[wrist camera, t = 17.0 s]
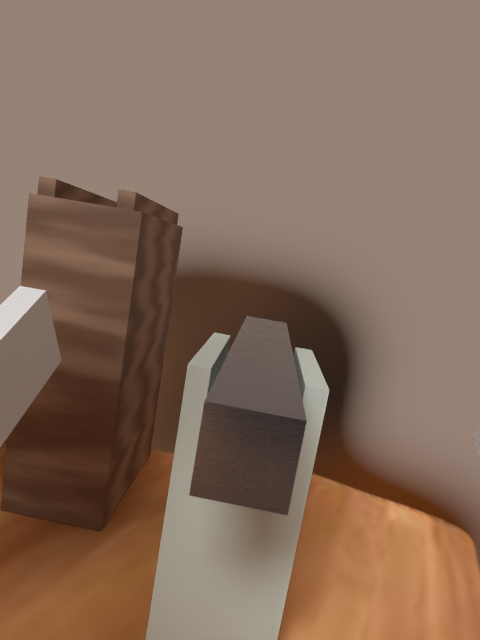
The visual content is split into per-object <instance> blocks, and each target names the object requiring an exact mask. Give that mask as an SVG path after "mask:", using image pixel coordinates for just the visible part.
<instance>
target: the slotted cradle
mask: <svg viewBox="0 0 480 640" xmlns="http://www.w3.org/2000/svg"><path fill="white" fill-rule="evenodd" d="M229 341H230V335H224V334H219V333H214V334H213V335H212V336H211V338H210V339H209V340H208V341H207V342H206V344H205V345H204V346H203V347H202V348H201V349H200V350H199V352H198V353H197V354H196V355H195V356H194V358H193V359H192V360H191V361H190V362H189V364H188V368H187V374H186V381H185V387H184V393H183V400H182V407H181V414H180V420H179V426H178V433H177V440H176V445H175V452H174V458H173V465H172V471H171V478H170V484H169V491H168V497H167V504H166V510H165V517H164V523H163V530H162V536H161V543H160V549H159V556H158V562H157V569H156V575H155V582H154V588H153V595H152V601H151V608H150V614H149V621H148V627H147V634H146V640H277V639H278V634H279V629H280V625H281V620H282V615H283V610H284V605H285V601H286V596H287V591H288V586H289V581H290V577H291V572H292V567H293V562H294V557H295V553H296V548H297V543H298V538H299V533H300V529H301V524H302V519H303V514H304V509H305V505H306V500H307V495H308V490H309V485H310V481H311V476H312V471H313V466H314V461H315V457H316V452H317V447H318V442H319V437H320V432H321V428H322V423H323V418H324V413H325V409H326V404H327V399H328V394H329V389H328V386H327V384H326V382H325V379H324V377H323V375H322V372H321V370H320V368H319V366H318V363H317V361H316V359H315V357H314V354H313V352H312V350H308V349H302V348H295V353H294V362H295V367H296V372H297V376H298V381H299V386H300V391H301V396H302V400H303V405H304V410H305V415H306V420H307V422H306V427H305V432H304V437H303V442H302V447H301V452H300V457H299V462H298V467H297V472H296V477H295V482H294V487H293V491H292V496H291V501H290V506H289V511H288V516H287V515H282V514H277V513H272V512H267V511H263V510H258V509H253V508H248V507H243V506H238V505H233V504H228V503H223V502H218V501H213V500H209V499H204V498H199V497H194V496H189V493H190V487H191V481H192V475H193V468H194V462H195V456H196V450H197V444H198V438H199V431H200V425H201V419H202V413H203V407H204V401H205V399H206V397H207V395H208V393H209V391H210V389H211V387H212V385H213V383H214V381H215V379H216V377H217V375H218V373H219V371H220V369H221V367H222V365H223V363H224V361H225V359H226V357H227V353H228V348H229Z"/></svg>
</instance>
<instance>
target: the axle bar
mask: <svg viewBox="0 0 480 640" xmlns="http://www.w3.org/2000/svg"><path fill="white" fill-rule="evenodd" d="M306 422H307V420H306V415H305V410H304V405H303V400H302V396H301V391H300V386H299V381H298V376H297V372H296V367H295V362H294V357H293V352H292V348H291V343H290V338H289V333H288V328H287V324H286V323H283V322H278V321H272V320H266V319H261V318H255V317H250V316H247V317H246V319H245V321H244V323H243V325H242V327H241V329H240V331H239V333H238V335H237V337H236V339H235V341H234V343H233V345H232V347H231V349H230V351H229V353H228V355H227V357H226V359H225V361H224V363H223V365H222V367H221V369H220V371H219V373H218V375H217V377H216V379H215V381H214V383H213V385H212V387H211V389H210V391H209V393H208V395H207V397H206V399H205V401H204V407H203V413H202V419H201V425H200V431H199V438H198V444H197V450H196V456H195V462H194V468H193V475H192V481H191V487H190V493H189V496H194V497H199V498H204V499H209V500H213V501H218V502H223V503H228V504H233V505H238V506H243V507H248V508H253V509H258V510H263V511H267V512H272V513H277V514H282V515H287V516H288V511H289V506H290V501H291V496H292V491H293V487H294V482H295V477H296V472H297V467H298V462H299V457H300V452H301V447H302V442H303V437H304V432H305V427H306Z"/></svg>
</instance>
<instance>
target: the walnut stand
mask: <svg viewBox="0 0 480 640" xmlns="http://www.w3.org/2000/svg"><path fill="white" fill-rule="evenodd" d="M177 221H178V213H176V212H174V211H172V210H169V209H168V208H166V207H164V206H162V205H160V204H158V203H156V202H154V201H152V200H150V199H148V198H146V197H144V196H142V195H140V194H138V193H136V192H131V191H125V190H119V191H118V199H117V202H114V201H112V200H109V199H107V198H104V197H101V196H99V195H96V194H93V193H91V192H88V191H85V190H83V189H80V188H78V187H75V186H73V185H70V184H67V183H64V182H62V181H59V180H57V179H52V178H45V177H39V184H38V194H32V193H29V201H28V212H27V223H26V235H25V246H24V257H23V267H22V279H21V286H23V287H29V288H35V289H40V290H46V292H47V297H48V301H49V306H50V310H51V315H52V319H53V324H54V328H55V333H56V337H57V342H58V346H59V351H60V355H61V360H62V361H61V362H60V363H59V365H58V366H57V368H56V369H55V371H54V372H53V373H52V375H51V376H50V378H49V379H48V381H47V382H46V383H45V385H44V386H43V388H42V389H41V390H40V392H39V393H38V395H37V396H36V398H35V399H34V400H33V402H32V403H31V405H30V406H29V408H28V409H27V410H26V412H25V413H24V415H23V416H22V418H21V419H20V420H19V422H18V423H17V425H16V426H15V427H14V429H13V430H12V432H11V433H10V435H9V436H8V437H7V445H6V457H5V468H4V479H3V490H2V501H1V510H2V511H7V512H12V513H17V514H21V515H26V516H31V517H36V518H40V519H45V520H50V521H55V522H59V523H64V524H69V525H74V526H78V527H83V528H88V529H92V530H97V531H101V530H102V528H103V527H104V525H105V524H106V522H107V521H108V519H109V518H110V516H111V514H112V513H113V511H114V510H115V508H116V507H117V505H118V504H119V502H120V500H121V499H122V497H123V496H124V494H125V493H126V491H127V490H128V488H129V486H130V485H131V483H132V482H133V480H134V479H135V477H136V476H137V474H138V472H139V471H140V469H141V468H142V466H143V465H144V463H145V462H146V460H147V458H148V457H149V455H150V450H151V442H152V436H153V429H154V422H155V415H156V408H157V401H158V394H159V387H160V381H161V374H162V367H163V360H164V353H165V346H166V339H167V333H168V326H169V318H170V312H171V304H172V298H173V290H174V284H175V277H176V270H177V264H178V257H179V250H180V243H181V235H182V227H180V226H178V225H177Z"/></svg>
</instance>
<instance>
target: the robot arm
mask: <svg viewBox="0 0 480 640" xmlns="http://www.w3.org/2000/svg"><path fill="white" fill-rule="evenodd" d="M61 361H62V360H61V355H60V351H59V346H58V342H57V337H56V333H55V328H54V324H53V319H52V315H51V310H50V306H49V301H48V297H47V292H46V290H40V289H35V288H29V287H23V286H20V287H19V288H18V289H16V291H14V292H13V293H12V294H11V295H10V296H9V297H8V298H7V299H6V300H5V301H4V302H3V303H2V304H1V305H0V447H1V446H2V445H3V443H4V442H5V440H6V439H7V437H8V436H9V435H10V433H11V432H12V430H13V429H14V427H15V426H16V425H17V423H18V422H19V420H20V419H21V418H22V416H23V415H24V413H25V412H26V410H27V409H28V408H29V406H30V405H31V403H32V402H33V400H34V399H35V398H36V396H37V395H38V393H39V392H40V390H41V389H42V388H43V386H44V385H45V383H46V382H47V381H48V379H49V378H50V376H51V375H52V373H53V372H54V371H55V369H56V368H57V366H58V365H59V363H60V362H61ZM472 438H473V441H474V444H475V446H476V449H477V452H478V455H479V458H480V428H479V429H478V430H477V431H476V433H475V434H474V435H473V437H472Z"/></svg>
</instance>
